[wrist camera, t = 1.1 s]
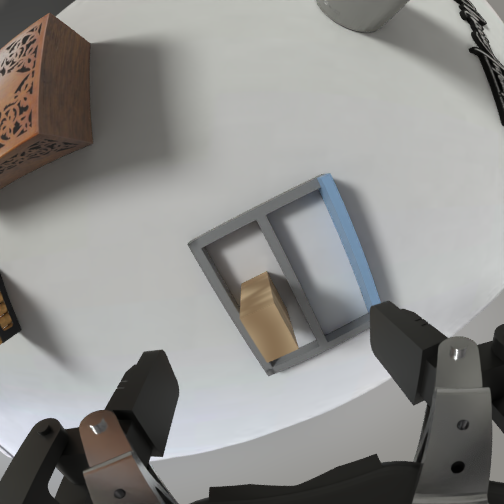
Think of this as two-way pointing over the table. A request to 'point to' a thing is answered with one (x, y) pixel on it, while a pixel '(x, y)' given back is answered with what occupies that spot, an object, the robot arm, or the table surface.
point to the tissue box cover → (43, 97)
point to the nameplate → (485, 53)
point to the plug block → (266, 318)
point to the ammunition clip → (7, 316)
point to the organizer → (350, 246)
